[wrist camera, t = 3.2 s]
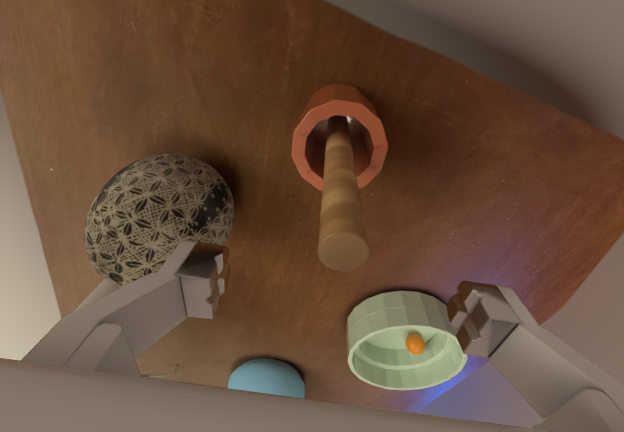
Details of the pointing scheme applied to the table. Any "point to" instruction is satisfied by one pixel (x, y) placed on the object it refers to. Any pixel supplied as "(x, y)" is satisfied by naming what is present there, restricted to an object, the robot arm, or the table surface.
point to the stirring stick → (341, 204)
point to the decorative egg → (155, 215)
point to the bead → (415, 344)
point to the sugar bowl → (267, 378)
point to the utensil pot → (362, 128)
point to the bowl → (402, 341)
